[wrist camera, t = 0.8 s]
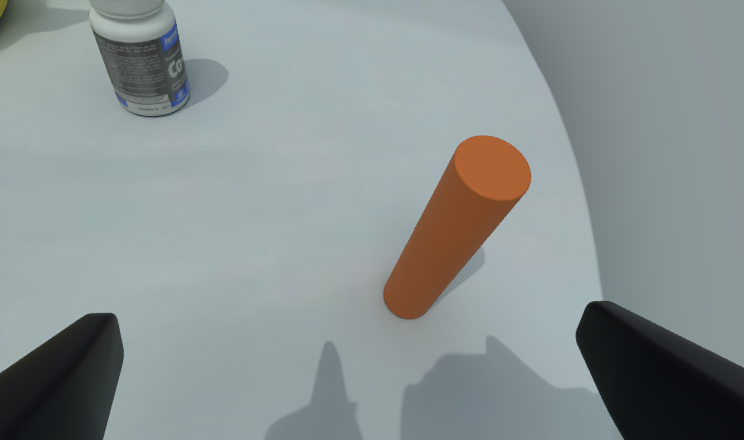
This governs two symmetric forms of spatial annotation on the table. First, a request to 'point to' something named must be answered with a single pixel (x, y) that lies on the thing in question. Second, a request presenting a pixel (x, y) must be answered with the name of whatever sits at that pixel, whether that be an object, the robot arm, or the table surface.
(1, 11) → the teapot
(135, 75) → the pill bottle
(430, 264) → the orange cylindrical rod
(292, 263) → the table surface
